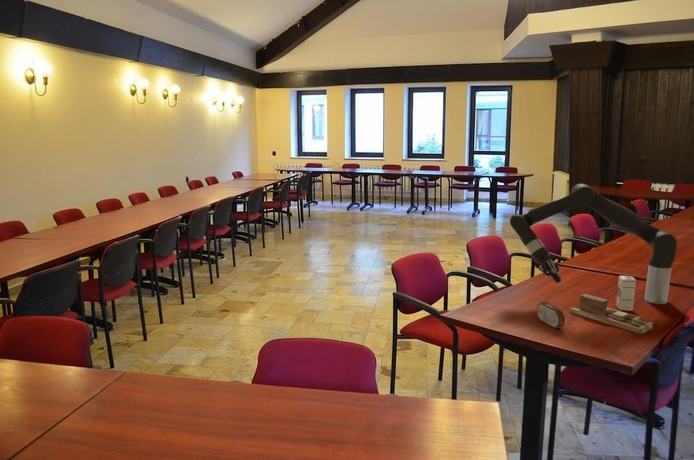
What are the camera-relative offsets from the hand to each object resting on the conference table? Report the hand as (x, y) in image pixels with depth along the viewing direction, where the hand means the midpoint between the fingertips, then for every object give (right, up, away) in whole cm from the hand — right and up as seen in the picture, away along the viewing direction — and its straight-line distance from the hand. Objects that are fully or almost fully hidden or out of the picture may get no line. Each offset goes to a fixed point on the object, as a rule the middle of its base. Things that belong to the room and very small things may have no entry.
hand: (559, 281), depth 241 cm
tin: (-13, -16, -22) cm, 30 cm away
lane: (+16, -14, -16) cm, 27 cm away
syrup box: (+28, -12, -3) cm, 31 cm away
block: (+10, -13, -11) cm, 20 cm away
